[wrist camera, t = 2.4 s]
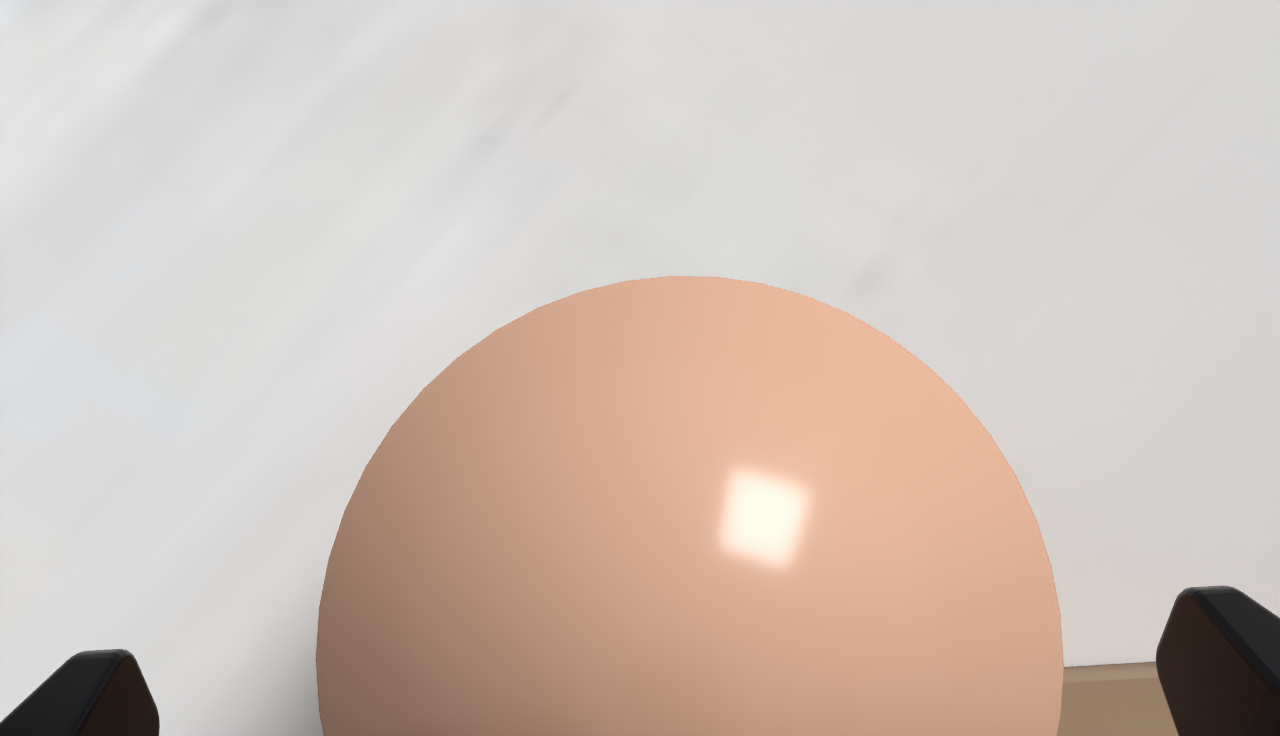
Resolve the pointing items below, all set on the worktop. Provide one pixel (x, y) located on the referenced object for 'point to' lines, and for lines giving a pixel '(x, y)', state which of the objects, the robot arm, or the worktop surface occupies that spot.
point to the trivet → (1114, 701)
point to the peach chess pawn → (688, 537)
